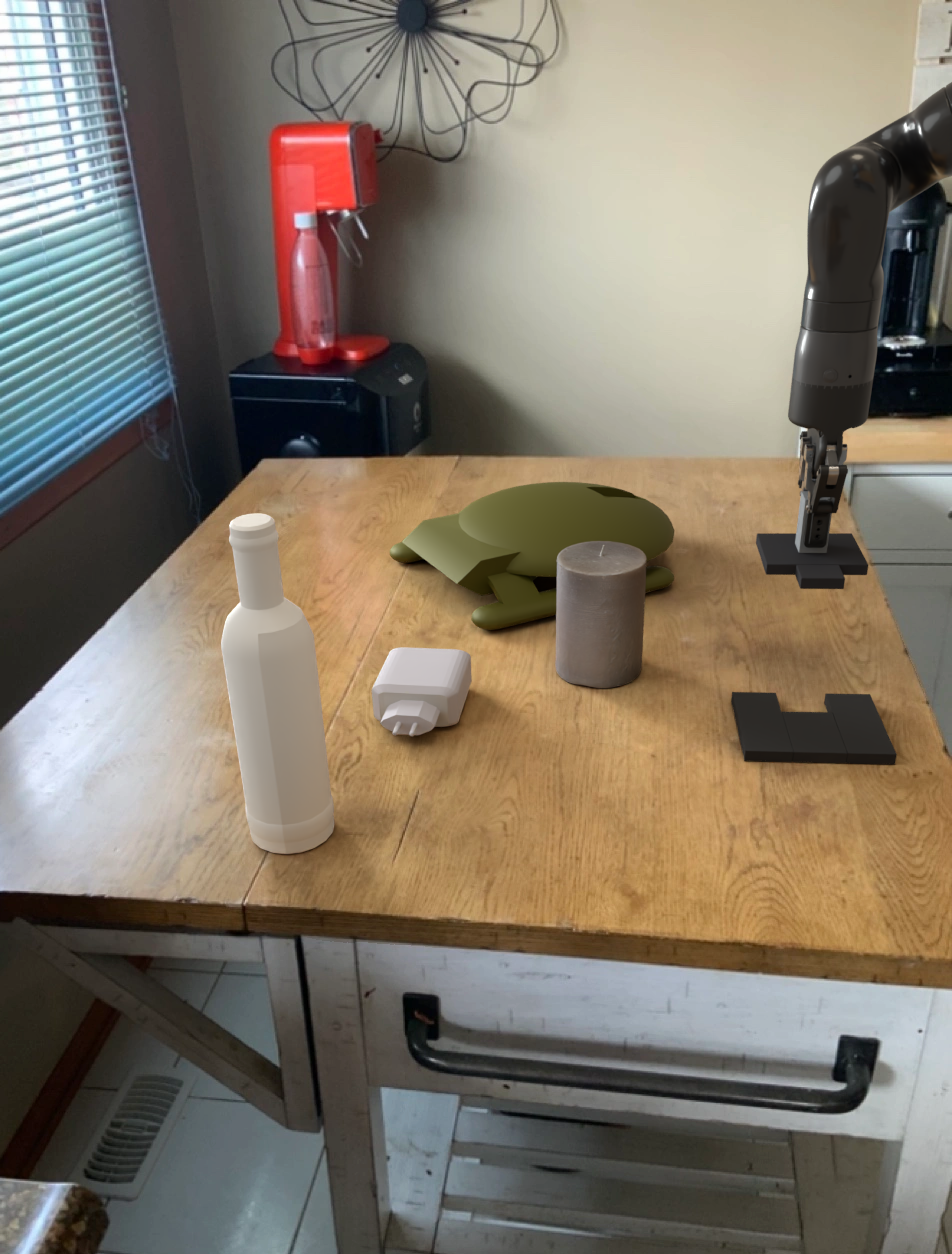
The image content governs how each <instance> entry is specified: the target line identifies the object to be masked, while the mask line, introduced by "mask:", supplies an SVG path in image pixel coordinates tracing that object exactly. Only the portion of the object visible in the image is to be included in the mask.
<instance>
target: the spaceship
mask: <svg viewBox="0 0 952 1254" xmlns="http://www.w3.org/2000/svg"><path fill="white" fill-rule="evenodd" d="M674 538H675V528H674V525H673V523H672V521H671V518H670V517H669V516H668V515H667V513H665V511H664V510H663V509H662V508H660V506H658V505H656V503H653V502H651V501H649V500H648V499H647V498H643V497H641V496H639V495H636V494H634V493H633V492H631V491H627V490H625V489H621V488H617V487H614V486H610V485H605V484H598V483H589V482H581V481H579V482H578V481H549V482H548V481H547V482H538V483H529V484H522V485H517V486H516V485H515V486H512V487H508V488H504V489H500V490H498V491H495V492H492V493H490V494H487V495H485V496H482V497H480V498H478V499H476V500H474V501H472V502H471V503H469V504H468V505H466V506H465V507H464V508H462V509H461V510H459V512H457V513H452V514H448V515H447V514H446V515H443V516H439V517H438V516H437V517H434V518H433V517H432V518H428V519H424V520H422V521H421V522H420V523H419V524H418V525H417V526H416V527H414V529H413V530H412V531H411V532H410V533H409V534H408V535H406V537H405V538H404V539H403V540H402V541H400V542H397V543H394V545H392V546H391V547H390V549H389V556H390V558H391V559H393V560H394V561H396V562H399V563H404V564H406V563H407V564H408V563H414V562H418V561H423V560H425V561H426V562H427V563H428V564H430V565H431V566H433V567H434V568H435V569H436V570H438V571H439V572H440V573H442V574H443V575H444V576H446V577H447V578H448V579H449V580H451V581H452V582H454V583H455V584H456V585H459V586H461V587H462V588H464V589H466V590H469V591H471V592H473V593H475V594H477V595H479V596H482V597H483V596H486V595H490V594H494V595H495V598H496V599H497V601H496V602H492V603H489V604H484V605H481V606H479V607H477V608H476V609H474V611H472V613H471V616H470V618H471V621H472V623H473V624H474V625H475V627H478V628H480V629H482V630H487V631H489V630H490V631H491V630H492V631H494V630H495V631H496V630H500V629H504V628H509V627H513V626H518V625H521V624H525V623H530V622H533V621H537V620H541V619H545V618H549V617H553V616H556V603H557V596H556V595H557V587H554V588H551V589H546V590H542V591H538V588H537V587H536V585H535V584H534V581H535V580H536V579H537V578H538V577H548V578H557V561H556V560H557V557H558V554H559V553H560V552H561V551H562V550H563V549H565V548H567V547H569V546H572V545H575V544H579V543H583V542H591V541H611V542H618V543H624V544H628V545H631V546H634V547H636V548H639V549H640V550H641V551H643V553H644V554H645V555H646V558H647V562H648V561H651V560H653V559H656V558H658V557H659V556H660V555H662V554H663V553H664V552H666V551H667V550H668V549H669V547H670V546H671V545H672V544H673V542H674ZM674 582H675V574H674V572H673V571H671V569H670V568H667V567H665V566H662V565H646V586H645V594H646V593H650V592H653V591H658V590H662V589H666V588H667V587H670V586H671V584H672V583H674Z"/></svg>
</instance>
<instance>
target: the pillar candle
mask: <svg viewBox="0 0 952 1254" xmlns="http://www.w3.org/2000/svg"><path fill="white" fill-rule="evenodd" d="M556 561H557V577H556V588H557V595H556V596H557V603H556V615H555V663H554V664H555V671H556V673H557V675H558V676H559V677H560V678H561V679H562V680H564V681H565V682H567V683H570V684H572V685H578V686H579V685H580V686H585V687H590V688H595V689H596V688H597V689H611V688H616V687H620V686H621V687H622V686H625V685H627V684H629V683H631V682H632V681H634V680H636V679H637V677H638V676H639V675H640V674H641V672H642V669H643V653H644V652H643V650H644V649H643V648H644V627H645V606H646V593H645V586H646V566H647V562H648V561H647V558H646V555H645V554H644V553H643V551H641V550H640V549H639V548H636V547H634V546H631V545H628V544H624V543H618V542H611V541H591V542H583V543H579V544H575V545H572V546H569V547H567V548H565V549H563V550H562V551H561V552H560V553H559V554H558V557H557V560H556Z"/></svg>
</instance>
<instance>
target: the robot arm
mask: <svg viewBox="0 0 952 1254" xmlns="http://www.w3.org/2000/svg"><path fill="white" fill-rule="evenodd" d="M951 177H952V81H951V82H949V83H947V84H946V85H945V86H943V87H941V88H939V90H937V91H935V92H934V93H932V95H930V96H928V98H926V99H925V100H923V101H922V102H921V103H920V104H919V105H917V107H916V108H915V109H913V110H912V111H911V112H908V113H906V114H905V115H903V116H901V117H899V118H897V119H896V120H894V121H892V122H891V123H889V124H887V125H885V126H883V127H882V128H880V129H878V130H876V131H875V132H873V133H871V134H870V135H868V136H866V137H865V138H863V139H861V140H859V141H857V142H855V143H854V144H852V145H851V146H849V147H847V148H845V149H843V150H841V151H839V152H836V154H834V155H832V156H831V157H830V158H829V159H827V160H826V161H825V162H824V163H823V164H822V166H820V168H819V169H818V171H817V173H816V175H815V177H814V179H813V182H812V185H811V189H810V195H809V201H808V209H807V210H808V211H807V212H808V213H807V231H806V233H807V234H806V235H807V236H806V237H807V238H806V239H807V246H806V247H807V248H806V249H807V250H806V251H807V275H806V281H805V286H804V292H803V299H802V308H801V309H802V310H801V319H800V325H799V332H798V336H797V341H796V344H795V348H794V350H795V351H794V356H793V358H794V359H793V366H792V373H791V384H790V392H789V403H788V411H787V419H788V420H789V422H791V423H792V424H793V425H795V426H796V427H799V428H803V429H807V430H803V431H801V432H800V434H799V440H800V443H799V464H798V465H799V468H798V480H797V486H798V489H800V491H799V498H800V497H801V491H808V499H807V505H806V510H807V515H806V523H805V531H804V540H803V543H804V545H805V547H807V548H823V547H824V546H825V545H826V543H827V535H828V528H829V520H830V513H832V514H837V513H838V510H839V507H840V506H839V505H840V501H841V499H842V498H841V497H842V494H843V490H844V486H845V483H846V479H847V475H848V474H849V468H848V466H847V464H844V463H845V462H846V461H847V456H848V443H844V432H846V431H847V430H849V429H856V428H858V427H861V426H862V425H864V424H865V423H866V422H867V420H868V418H869V410H870V405H871V398H872V397H871V396H872V389H873V385H874V384H873V383H874V376H875V368H876V363H877V357H878V356H877V355H878V330H879V320H880V314H881V306H882V301H883V294H884V283H885V282H884V280H885V279H884V278H885V277H884V276H885V275H884V274H885V273H884V269H883V266H882V260H883V254H884V247H885V242H886V235H887V228H888V222H889V216H890V213H891V212H893V211H894V210H896V209H897V208H899V207H900V206H902V205H904V204H905V203H907V202H908V201H910V200H911V199H913V198H915V197H917V196H918V195H920V194H921V193H923V192H924V191H927V190H928V189H929V188H931V187H932V186H934V185H935V184H937V183H939V182H941V181H942V180H944V179H946V178H951ZM823 497H828V498H827V501H819V500H820V498H823Z"/></svg>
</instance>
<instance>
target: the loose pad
mask: <svg viewBox="0 0 952 1254" xmlns="http://www.w3.org/2000/svg"><path fill="white" fill-rule="evenodd" d="M800 491H801V490H800ZM799 498H800V499H799V507H798V516H797V522H796V523H797V524H796V532H795V533H793V532H792V533H785V532H784V533H782V532H781V533H773V532H772V533H768V532H767V533H766V532H765V533H763V532H761V533H759V532H758V533H756V539H755V545H756V548H757V551H758V555H759V557H760V560H761V564H762V567H763V570H764V574H765V575H766V576H770V575H771V576H782V575H783V576H795V580H796V581H797V584H798V586H799V589H800V590H844V589H845V582H846V577H845V576H867V575H868V571H869V570H868V569H869V563H868V561H867V559H866V557H865V556H864V554H863V552H862V550H861V548H860V546H859V544H858V542H857V540H856V538H855V536H854V534H853V533H851V532H850V533H849V532H847V533H845V532H843V533H840V532H839V533H837V532H836V533H835V532H833V533H832V532H830V530H831V524H832V523H831V522H832V516H833V513H830V520H829V528H828V535H827V543H826V545H825V546H824V547H823V548H807V547H805V545H804V543H803V540H804V531H805V523H806V515H807V510H806V505H807V499H808V491H801V497H800V496H799ZM827 498H828V497H823V498H820V500H819V501H827Z"/></svg>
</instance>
